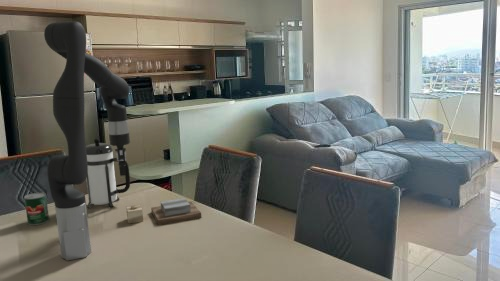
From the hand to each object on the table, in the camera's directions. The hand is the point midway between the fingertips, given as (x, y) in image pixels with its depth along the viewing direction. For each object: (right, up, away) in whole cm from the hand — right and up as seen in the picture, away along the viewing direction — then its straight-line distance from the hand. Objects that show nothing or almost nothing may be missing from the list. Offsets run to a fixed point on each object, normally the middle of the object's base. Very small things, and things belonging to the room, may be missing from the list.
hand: (122, 172), depth 169 cm
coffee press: (-14, -16, +24) cm, 32 cm away
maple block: (+4, -19, +2) cm, 20 cm away
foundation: (+20, -18, +6) cm, 27 cm away
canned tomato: (-35, -20, +5) cm, 41 cm away
